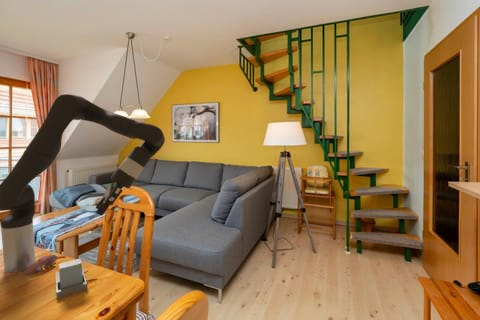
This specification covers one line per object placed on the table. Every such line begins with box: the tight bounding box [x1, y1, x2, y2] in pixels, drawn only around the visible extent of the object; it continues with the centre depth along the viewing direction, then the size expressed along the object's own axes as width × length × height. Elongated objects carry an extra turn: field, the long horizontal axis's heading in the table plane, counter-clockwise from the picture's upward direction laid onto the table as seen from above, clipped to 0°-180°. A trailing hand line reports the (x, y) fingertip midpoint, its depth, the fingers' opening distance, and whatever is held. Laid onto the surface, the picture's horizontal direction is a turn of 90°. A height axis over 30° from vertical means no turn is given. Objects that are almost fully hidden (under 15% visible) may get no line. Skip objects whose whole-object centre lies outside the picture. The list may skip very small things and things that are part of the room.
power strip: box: [55, 265, 88, 300], centre depth 83 cm, size 15×8×4 cm, turn 38°
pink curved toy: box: [23, 253, 59, 276], centre depth 94 cm, size 10×5×7 cm, turn 169°
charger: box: [58, 258, 83, 290], centre depth 80 cm, size 4×6×8 cm, turn 128°
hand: (98, 211), depth 84 cm, fingers open, 8 cm apart
